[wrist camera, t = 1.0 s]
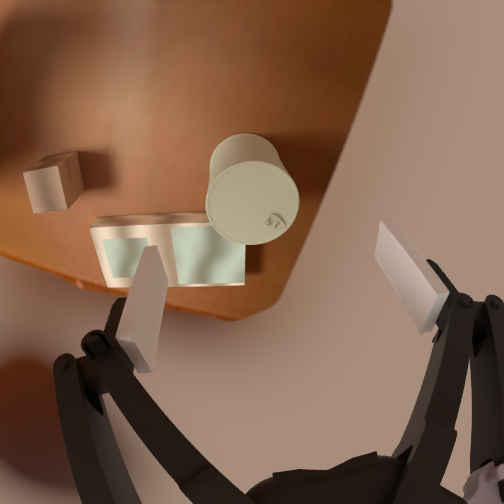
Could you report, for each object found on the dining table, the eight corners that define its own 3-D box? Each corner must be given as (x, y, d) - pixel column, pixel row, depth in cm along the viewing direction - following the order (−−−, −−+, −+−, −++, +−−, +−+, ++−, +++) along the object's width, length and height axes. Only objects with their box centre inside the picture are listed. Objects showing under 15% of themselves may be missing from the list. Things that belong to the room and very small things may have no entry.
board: (112, 275, 46) (107, 287, 44) (96, 217, 40) (89, 228, 37) (243, 272, 48) (244, 285, 45) (244, 211, 42) (245, 221, 39)
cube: (52, 194, 37) (33, 213, 32) (44, 157, 33) (22, 172, 28) (84, 190, 37) (67, 209, 32) (77, 150, 34) (57, 165, 29)
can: (250, 210, 42) (259, 262, 32) (195, 174, 38) (185, 217, 28) (294, 161, 38) (320, 200, 28) (239, 119, 34) (246, 141, 24)
